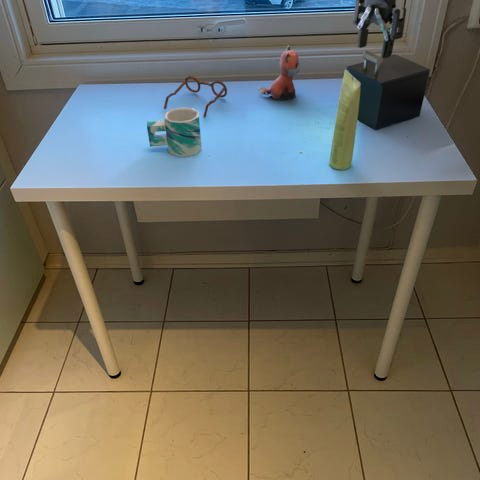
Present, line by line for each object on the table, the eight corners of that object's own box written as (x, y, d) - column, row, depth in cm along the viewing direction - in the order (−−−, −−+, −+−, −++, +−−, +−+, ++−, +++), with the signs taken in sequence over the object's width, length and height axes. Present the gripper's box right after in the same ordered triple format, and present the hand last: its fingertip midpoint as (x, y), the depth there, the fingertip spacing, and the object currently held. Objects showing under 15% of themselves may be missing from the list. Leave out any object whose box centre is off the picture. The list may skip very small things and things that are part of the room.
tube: (357, 163, 118) (371, 74, 104) (348, 173, 115) (360, 82, 101) (334, 157, 120) (345, 68, 106) (324, 166, 117) (334, 77, 103)
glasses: (228, 99, 144) (227, 80, 141) (204, 118, 136) (203, 99, 133) (187, 91, 149) (185, 73, 145) (162, 109, 141) (160, 90, 137)
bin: (375, 130, 129) (382, 86, 121) (343, 112, 137) (348, 69, 129) (419, 116, 134) (429, 72, 126) (386, 99, 142) (394, 57, 134)
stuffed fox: (257, 91, 148) (256, 45, 139) (296, 89, 148) (298, 43, 139) (259, 102, 142) (259, 55, 134) (300, 100, 143) (302, 53, 134)
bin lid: (380, 86, 121) (384, 63, 117) (346, 69, 129) (348, 48, 125) (429, 72, 126) (434, 50, 123) (394, 57, 134) (397, 36, 130)
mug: (201, 156, 122) (198, 121, 116) (150, 159, 122) (144, 124, 116) (201, 139, 128) (198, 105, 122) (152, 142, 127) (146, 108, 121)
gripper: (422, -26, 107) (406, 58, 119) (377, -39, 116) (366, 40, 127) (394, -20, 104) (381, 64, 116) (350, -34, 113) (341, 46, 125)
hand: (373, 52), depth 122 cm, fingers open, 8 cm apart
